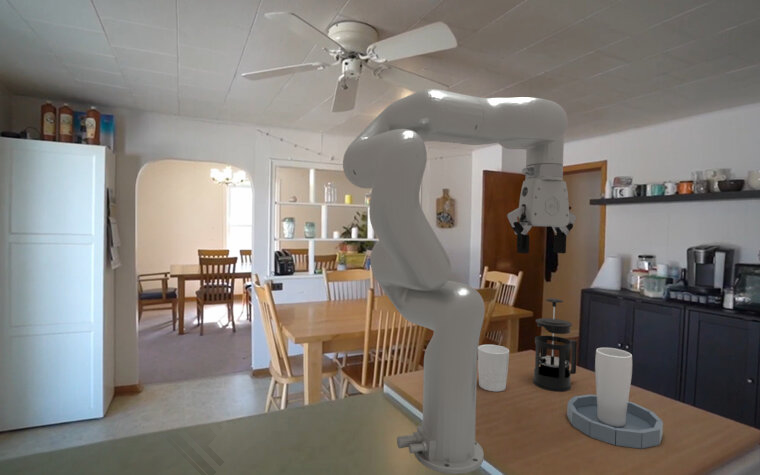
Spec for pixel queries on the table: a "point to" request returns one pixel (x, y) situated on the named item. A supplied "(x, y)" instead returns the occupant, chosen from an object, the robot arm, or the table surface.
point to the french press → (552, 368)
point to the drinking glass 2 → (612, 385)
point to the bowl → (635, 433)
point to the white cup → (492, 367)
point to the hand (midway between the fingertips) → (541, 253)
